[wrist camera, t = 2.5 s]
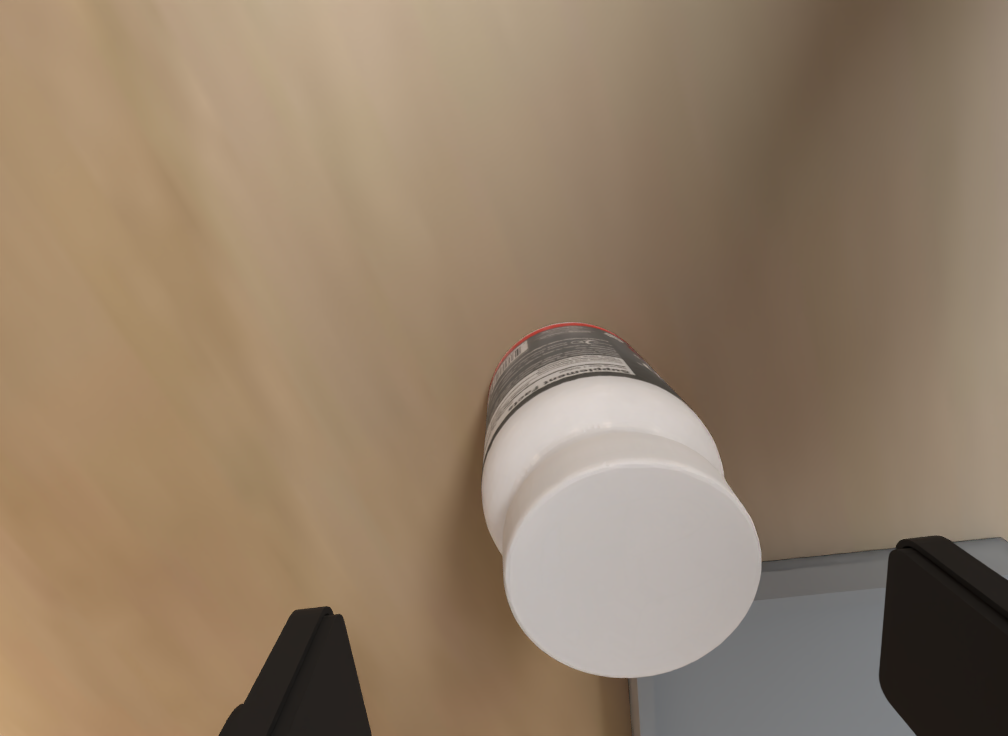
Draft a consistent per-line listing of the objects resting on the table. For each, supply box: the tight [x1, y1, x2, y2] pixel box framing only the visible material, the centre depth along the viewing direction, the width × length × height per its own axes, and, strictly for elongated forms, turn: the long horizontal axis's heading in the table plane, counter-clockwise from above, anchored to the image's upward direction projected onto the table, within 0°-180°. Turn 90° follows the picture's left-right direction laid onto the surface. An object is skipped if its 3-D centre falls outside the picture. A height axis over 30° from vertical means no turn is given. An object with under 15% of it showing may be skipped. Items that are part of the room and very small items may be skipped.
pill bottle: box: [481, 322, 761, 678], centre depth 14 cm, size 6×6×10 cm
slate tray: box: [628, 537, 1008, 736], centre depth 22 cm, size 16×15×2 cm
